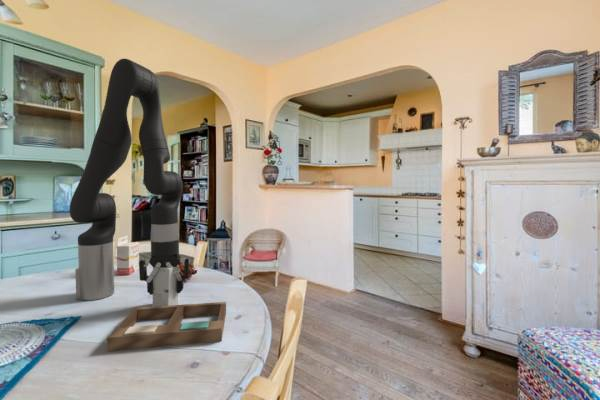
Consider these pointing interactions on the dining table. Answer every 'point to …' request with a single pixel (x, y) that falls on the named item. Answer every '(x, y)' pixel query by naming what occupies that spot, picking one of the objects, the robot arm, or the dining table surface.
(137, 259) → the ink cartridge box
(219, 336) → the socket block
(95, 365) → the dining table surface
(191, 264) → the dragon fruit
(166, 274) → the skincare box
